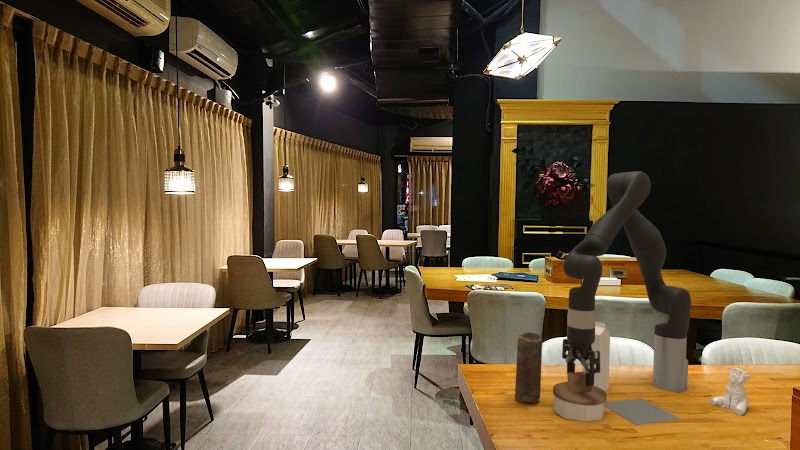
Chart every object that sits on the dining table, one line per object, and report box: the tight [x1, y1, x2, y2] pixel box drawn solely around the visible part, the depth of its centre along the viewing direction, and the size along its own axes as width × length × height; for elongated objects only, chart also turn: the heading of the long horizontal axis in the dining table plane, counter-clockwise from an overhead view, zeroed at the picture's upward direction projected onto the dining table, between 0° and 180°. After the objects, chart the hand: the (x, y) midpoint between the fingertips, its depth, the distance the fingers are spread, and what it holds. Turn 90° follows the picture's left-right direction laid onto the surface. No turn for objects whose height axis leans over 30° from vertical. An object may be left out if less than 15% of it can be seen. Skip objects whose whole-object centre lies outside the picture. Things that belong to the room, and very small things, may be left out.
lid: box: [552, 371, 608, 405], centre depth 139 cm, size 14×14×6 cm
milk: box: [581, 321, 611, 392], centre depth 156 cm, size 6×6×22 cm
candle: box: [514, 331, 543, 404], centre depth 147 cm, size 8×7×20 cm
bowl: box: [553, 394, 605, 422], centre depth 139 cm, size 13×13×5 cm
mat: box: [604, 397, 681, 426], centre depth 140 cm, size 15×15×1 cm
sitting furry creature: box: [709, 367, 752, 416], centre depth 144 cm, size 10×9×12 cm
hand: (579, 380), depth 139 cm, fingers open, 8 cm apart
